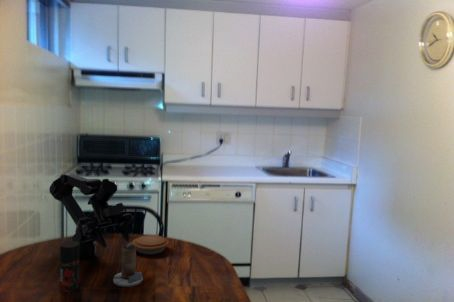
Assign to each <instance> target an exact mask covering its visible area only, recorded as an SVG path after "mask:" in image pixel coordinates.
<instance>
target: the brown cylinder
mask: <svg viewBox="0 0 454 302" xmlns="http://www.w3.org/2000/svg"><path fill="white" fill-rule="evenodd" d="M136 261H137V250H136V246H135V245H134V244H132V242H129V243H124V244H123V245H122V246H121V266H120V267H121V269H120V270H121V271H120V273H121V278H122V279H124V280H128V276H129V275H132V274H135V272H136V263H137V262H136Z"/></svg>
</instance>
